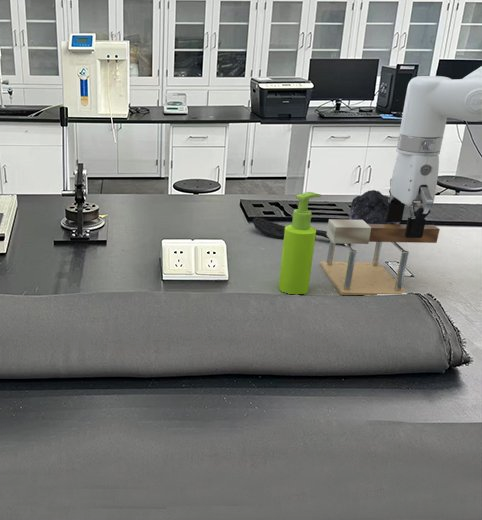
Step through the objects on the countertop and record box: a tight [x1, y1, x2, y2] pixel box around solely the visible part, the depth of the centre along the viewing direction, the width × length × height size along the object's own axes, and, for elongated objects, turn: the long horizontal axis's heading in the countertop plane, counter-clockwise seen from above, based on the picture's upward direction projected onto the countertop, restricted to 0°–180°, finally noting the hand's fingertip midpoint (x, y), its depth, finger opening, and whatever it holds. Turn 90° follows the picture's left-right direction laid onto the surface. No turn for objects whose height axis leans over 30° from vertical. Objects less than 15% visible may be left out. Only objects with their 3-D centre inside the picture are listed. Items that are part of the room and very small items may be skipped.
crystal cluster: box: [348, 189, 401, 225], centre depth 144 cm, size 13×14×10 cm
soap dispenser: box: [277, 191, 322, 295], centre depth 105 cm, size 6×7×20 cm
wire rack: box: [319, 239, 410, 296], centre depth 111 cm, size 13×16×9 cm
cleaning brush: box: [326, 218, 441, 245], centre depth 109 cm, size 21×5×4 cm, turn 87°
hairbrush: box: [252, 214, 352, 247], centre depth 137 cm, size 8×4×25 cm
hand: (402, 229), depth 108 cm, fingers open, 9 cm apart
